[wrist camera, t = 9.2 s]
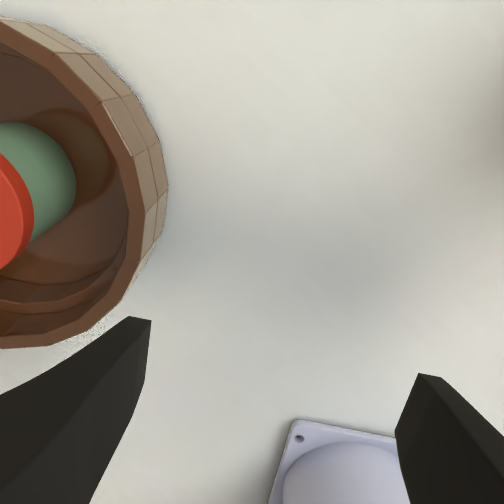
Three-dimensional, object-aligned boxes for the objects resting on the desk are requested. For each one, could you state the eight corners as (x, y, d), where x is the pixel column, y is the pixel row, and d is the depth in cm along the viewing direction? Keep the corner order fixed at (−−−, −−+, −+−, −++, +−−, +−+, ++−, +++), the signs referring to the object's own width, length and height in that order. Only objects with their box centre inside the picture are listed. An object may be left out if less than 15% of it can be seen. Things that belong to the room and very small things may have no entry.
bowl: (154, 322, 22) (128, 374, 18) (-94, 272, 22) (-170, 315, 18) (188, 55, 17) (162, 53, 14) (-129, -13, 17) (-243, -33, 13)
